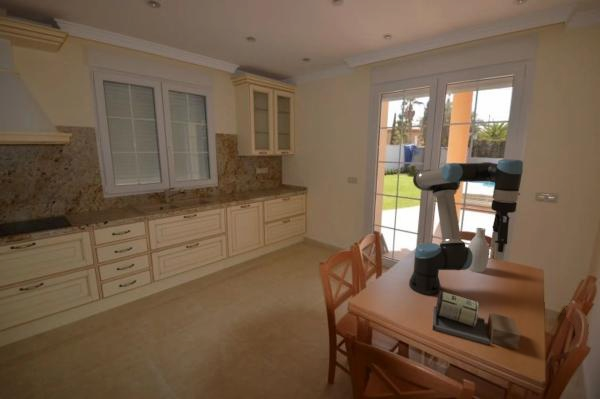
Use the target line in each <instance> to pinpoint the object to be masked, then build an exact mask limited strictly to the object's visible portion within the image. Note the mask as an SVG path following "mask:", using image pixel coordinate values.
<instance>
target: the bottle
mask: <svg viewBox="0 0 600 399" xmlns="http://www.w3.org/2000/svg"><path fill="white" fill-rule="evenodd" d="M475 229H476V231H475V234H474V235H475V236H474V237H472V239H471V240H470V243H469V244H468V246H467V247H468V248H470V251H472V255H473V260H472V264H471V266H470V267H469V268H468V269H467V270H469V271H472V272H474V273H485V271H486V268H487V266H488V263H489V257H490V246H489V243H488V241H487V239H486V228H483V227H476V228H475Z"/></svg>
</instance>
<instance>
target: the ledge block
mask: <svg viewBox="0 0 600 399" xmlns="http://www.w3.org/2000/svg"><path fill="white" fill-rule="evenodd" d="M486 326H487V330H488V335H489V340H490V342H491V344H495V345H498V346H502V347H506V348H509V349H513V350H515V351H516V350H517V351H518V350H519V347H520V346H519V345H520V341H521V340H520V339H521V333H520V331H519V328H518V326H517V324H516V320H515V319H514V318H513V317H509V316H505V315H500V314H497V313H496V314H495V313H492V312H488V319H487V325H486Z"/></svg>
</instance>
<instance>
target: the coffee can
mask: <svg viewBox="0 0 600 399" xmlns="http://www.w3.org/2000/svg"><path fill="white" fill-rule="evenodd" d="M435 307H436V315H440V316H443V317H446V318H449V319H452V320H455V321H458V322H461V323H464V324H467V325H470V326H473V327H475V325H476V322H477V318H478V317H479V311H480V309H479V308H480V306H479V301H477V300H474V299H473V300H472V299H469V298H467V297H462V296H461V295H460V296H459V295H455V294H453V293H449V292H446V291H442V289H441V290H440V291H439V294H437V299H436V306H435Z"/></svg>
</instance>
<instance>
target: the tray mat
mask: <svg viewBox="0 0 600 399" xmlns="http://www.w3.org/2000/svg"><path fill="white" fill-rule="evenodd" d="M432 319H433V320H432V330H433V331H436V332H440V333H442V334H447V335H450V336H453V337H454V336H455V337H457V338H461V339H465V340H469V341H471V342H475V343H480V344H482V345H483V344H484V345H487V346H490V342H491V340H490V338H488V333H487V328H486V324H485V318H484V317H480V316H478V318H477V322H476V325H475V327H473V326H470V325H467V324H464V323H461V322H458V321H455V320H452V319H449V318H446V317H443V316H440V315H436V306H433V316H432Z"/></svg>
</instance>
